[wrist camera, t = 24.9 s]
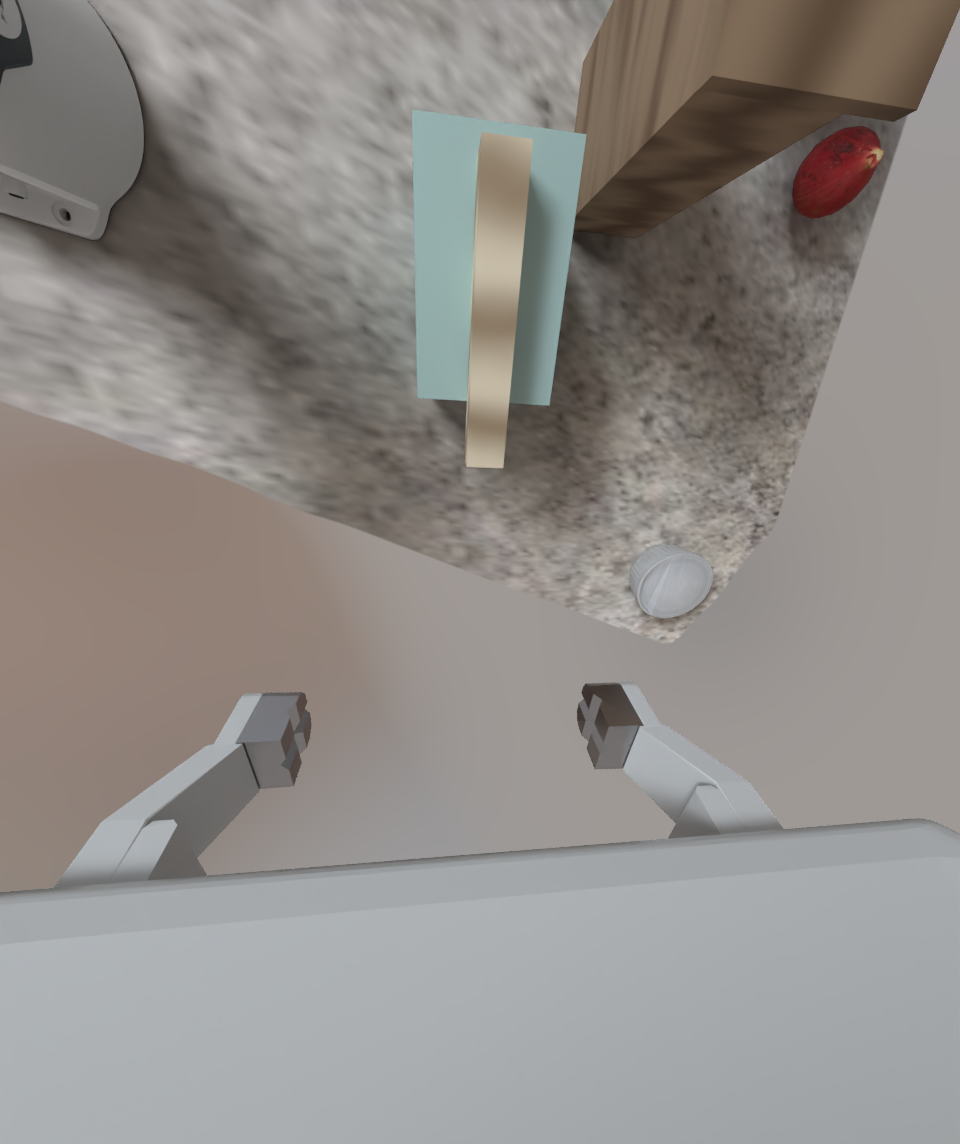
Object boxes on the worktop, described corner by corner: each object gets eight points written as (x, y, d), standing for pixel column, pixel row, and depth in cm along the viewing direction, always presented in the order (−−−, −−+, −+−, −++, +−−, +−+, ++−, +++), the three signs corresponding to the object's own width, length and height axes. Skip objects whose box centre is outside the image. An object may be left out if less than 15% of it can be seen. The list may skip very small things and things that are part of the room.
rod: (498, 459, 34) (503, 468, 31) (464, 458, 34) (466, 466, 31) (523, 162, 25) (533, 139, 22) (477, 156, 24) (481, 131, 22)
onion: (760, 198, 39) (831, 163, 32) (810, 132, 37) (897, 79, 30) (791, 241, 41) (864, 217, 34) (839, 181, 39) (928, 143, 32)
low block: (423, 386, 44) (417, 398, 31) (420, 198, 36) (412, 109, 23) (517, 391, 45) (549, 405, 32) (534, 212, 37) (586, 134, 24)
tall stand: (551, 240, 39) (711, 75, 16) (574, 42, 32) (891, -687, 10) (644, 250, 40) (916, 109, 17) (684, 61, 34) (1195, -553, 11)
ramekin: (614, 557, 58) (629, 574, 53) (685, 525, 56) (708, 539, 52) (631, 610, 63) (646, 630, 59) (697, 582, 62) (718, 600, 57)
